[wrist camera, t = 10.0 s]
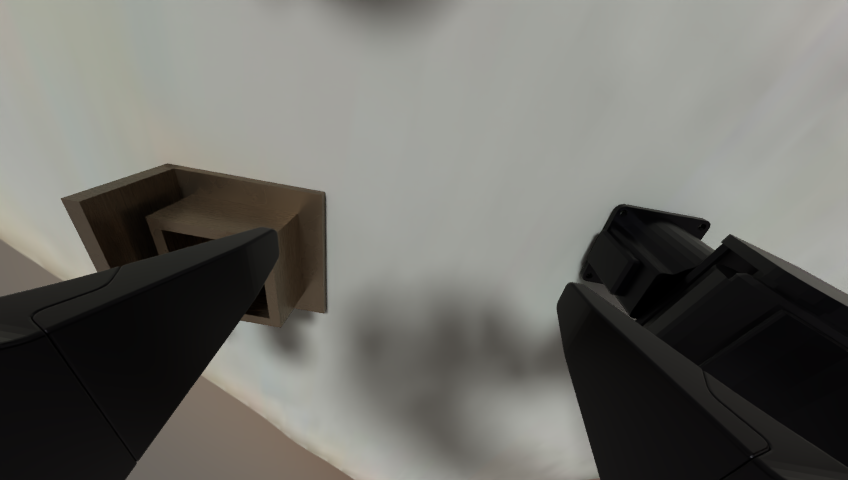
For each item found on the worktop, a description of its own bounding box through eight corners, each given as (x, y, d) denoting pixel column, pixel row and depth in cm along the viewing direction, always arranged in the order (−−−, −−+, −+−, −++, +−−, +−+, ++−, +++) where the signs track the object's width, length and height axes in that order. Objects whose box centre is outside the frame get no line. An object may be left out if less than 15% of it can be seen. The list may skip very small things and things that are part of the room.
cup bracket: (324, 192, 22) (276, 237, 16) (326, 309, 28) (291, 373, 22) (167, 163, 22) (60, 198, 16) (202, 286, 28) (134, 345, 22)
